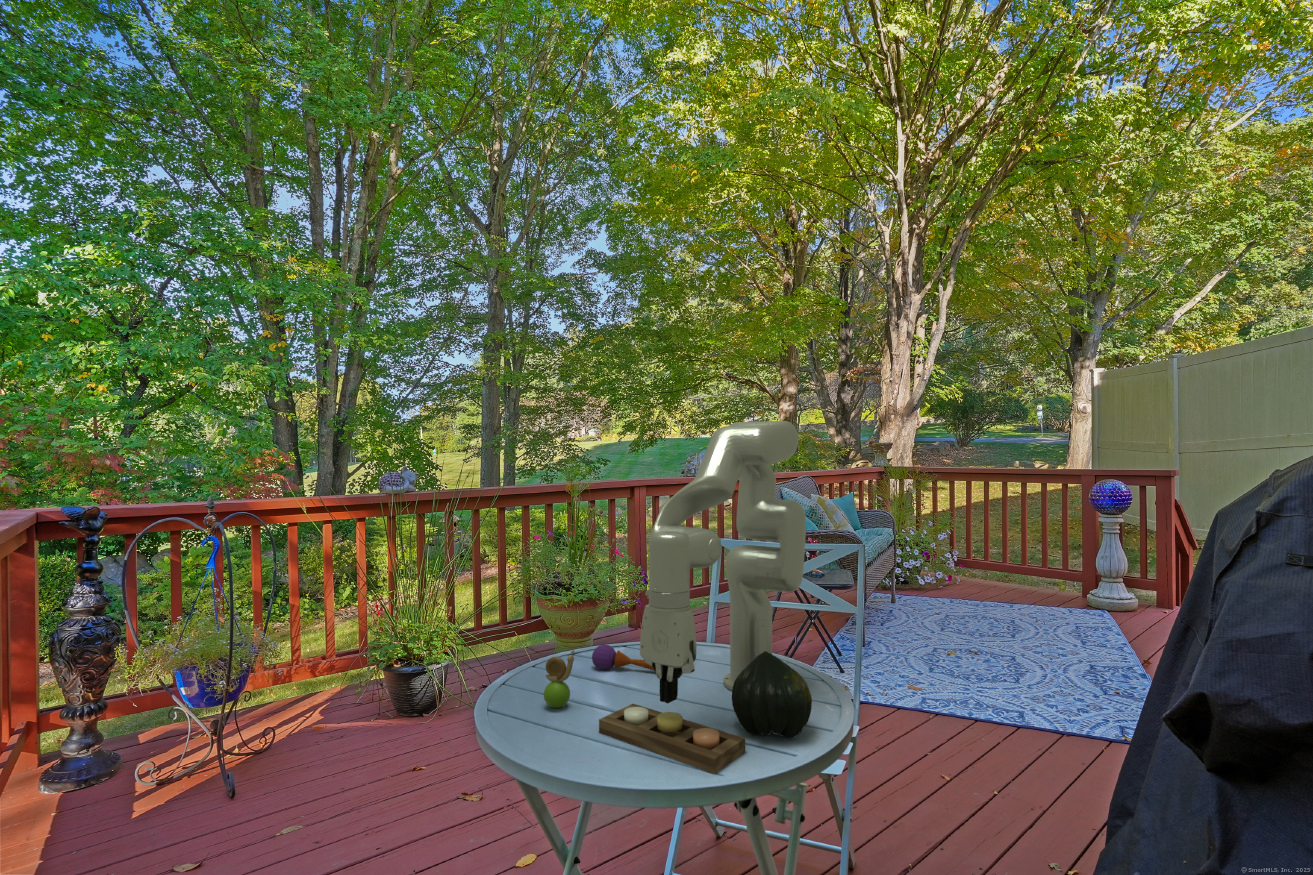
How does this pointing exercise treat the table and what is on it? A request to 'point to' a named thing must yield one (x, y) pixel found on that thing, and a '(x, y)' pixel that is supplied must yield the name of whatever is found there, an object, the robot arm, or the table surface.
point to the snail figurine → (558, 681)
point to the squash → (771, 698)
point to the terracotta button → (706, 738)
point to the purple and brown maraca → (614, 659)
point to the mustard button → (669, 722)
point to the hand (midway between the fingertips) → (668, 700)
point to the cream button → (636, 715)
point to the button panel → (674, 740)
